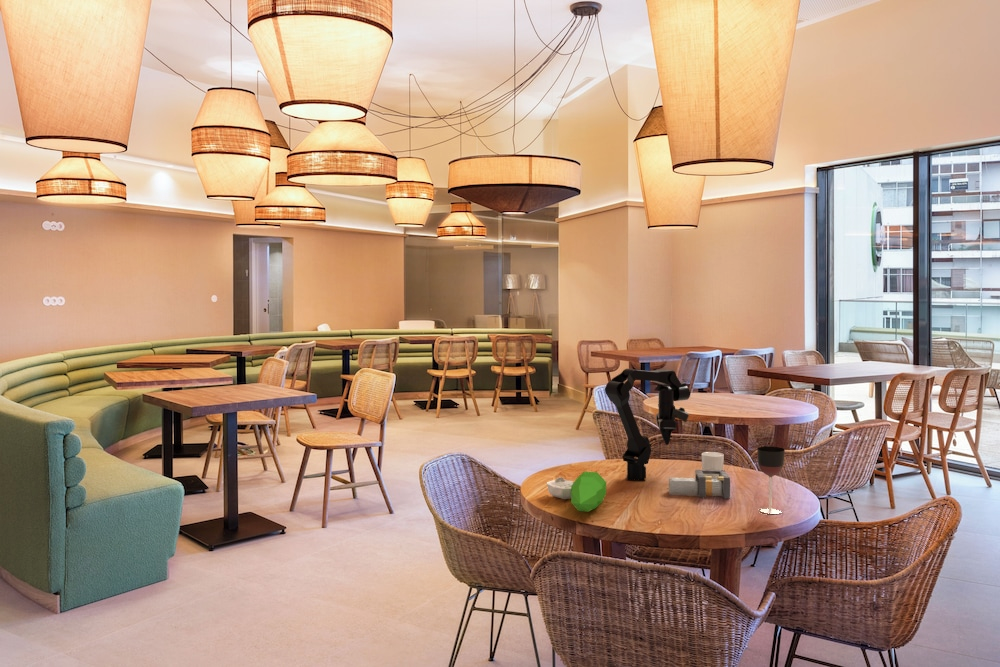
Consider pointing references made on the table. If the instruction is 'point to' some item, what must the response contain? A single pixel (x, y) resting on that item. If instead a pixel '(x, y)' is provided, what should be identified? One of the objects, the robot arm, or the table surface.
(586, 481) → the decorative tree
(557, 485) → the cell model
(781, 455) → the wineglass
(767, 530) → the table surface
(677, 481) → the grey rectangular bar
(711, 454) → the white cup
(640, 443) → the robot arm
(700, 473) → the grey c-shaped bracket
